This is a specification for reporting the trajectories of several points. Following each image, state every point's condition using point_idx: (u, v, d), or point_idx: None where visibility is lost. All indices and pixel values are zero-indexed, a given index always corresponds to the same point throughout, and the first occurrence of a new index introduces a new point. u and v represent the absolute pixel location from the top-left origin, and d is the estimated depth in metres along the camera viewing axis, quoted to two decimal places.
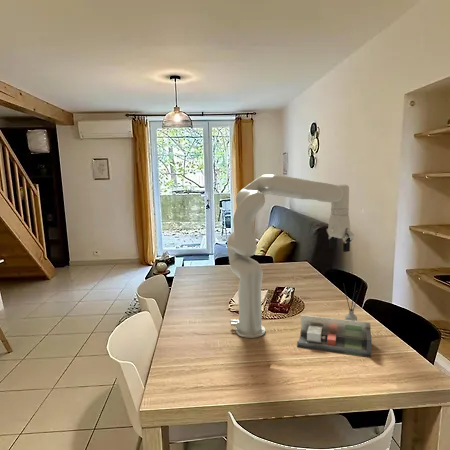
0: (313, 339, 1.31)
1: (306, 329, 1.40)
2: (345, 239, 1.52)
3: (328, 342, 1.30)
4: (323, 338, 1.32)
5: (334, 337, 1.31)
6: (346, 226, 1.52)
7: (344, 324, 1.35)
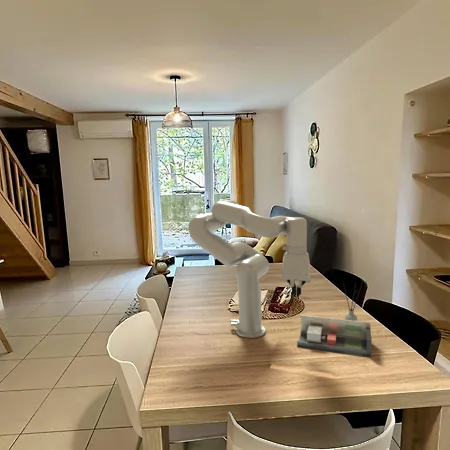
0: (313, 339, 1.31)
1: (306, 329, 1.40)
2: (301, 283, 1.32)
3: (328, 342, 1.30)
4: (323, 338, 1.32)
5: (334, 337, 1.31)
6: (309, 265, 1.30)
7: (344, 324, 1.35)
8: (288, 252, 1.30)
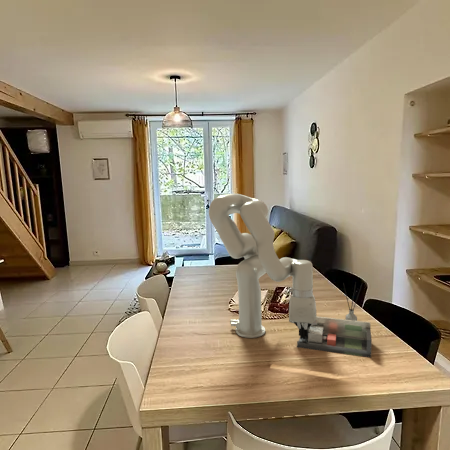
0: (314, 339, 1.31)
1: None
2: (307, 326, 1.33)
3: (328, 342, 1.30)
4: (324, 338, 1.32)
5: (334, 337, 1.31)
6: (315, 308, 1.32)
7: (344, 324, 1.35)
8: (294, 295, 1.32)
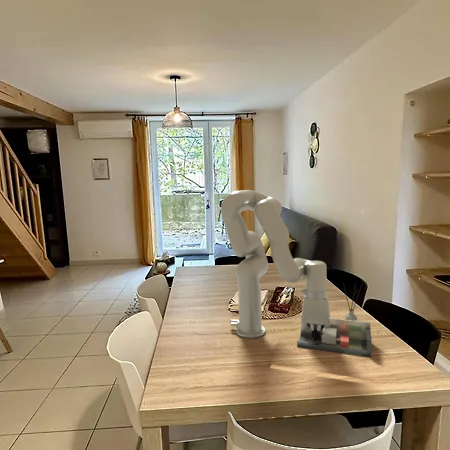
0: (328, 341, 1.29)
1: (306, 329, 1.40)
2: (320, 327, 1.32)
3: (341, 344, 1.28)
4: (338, 340, 1.30)
5: (347, 339, 1.30)
6: (329, 309, 1.30)
7: (344, 324, 1.35)
8: (308, 296, 1.30)
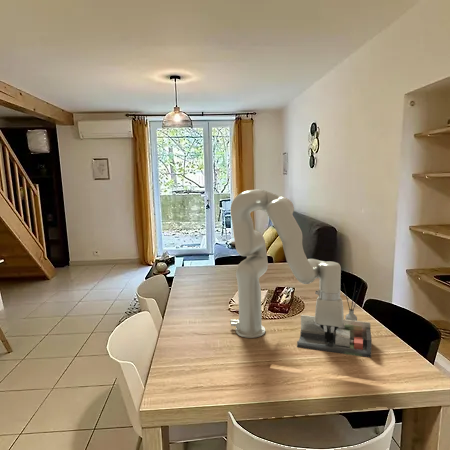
0: (342, 343, 1.27)
1: (306, 329, 1.40)
2: (334, 329, 1.30)
3: (355, 345, 1.27)
4: (352, 342, 1.29)
5: (361, 340, 1.28)
6: None
7: (344, 324, 1.35)
8: (322, 298, 1.28)
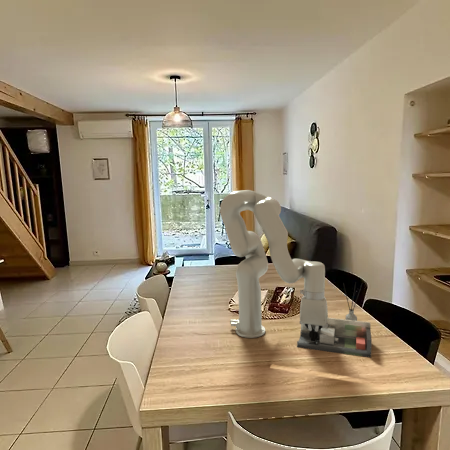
0: (326, 341, 1.29)
1: (306, 329, 1.40)
2: None
3: (357, 346, 1.26)
4: (336, 340, 1.31)
5: (363, 341, 1.28)
6: (327, 310, 1.31)
7: (344, 324, 1.35)
8: (306, 297, 1.30)
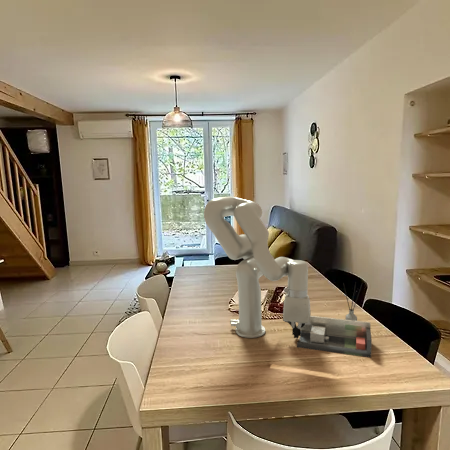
0: (316, 340, 1.30)
1: (306, 329, 1.40)
2: (301, 325, 1.34)
3: (357, 346, 1.26)
4: (326, 338, 1.32)
5: (363, 341, 1.28)
6: None
7: (344, 324, 1.35)
8: (289, 295, 1.32)
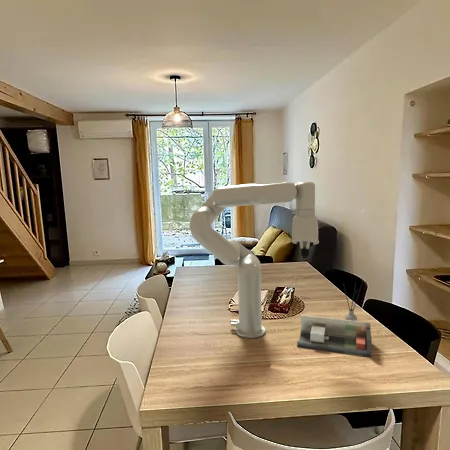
0: (316, 340, 1.30)
1: (306, 329, 1.40)
2: (309, 245, 1.39)
3: (357, 346, 1.26)
4: (326, 338, 1.32)
5: (363, 341, 1.28)
6: (317, 227, 1.37)
7: (344, 324, 1.35)
8: (297, 215, 1.37)
